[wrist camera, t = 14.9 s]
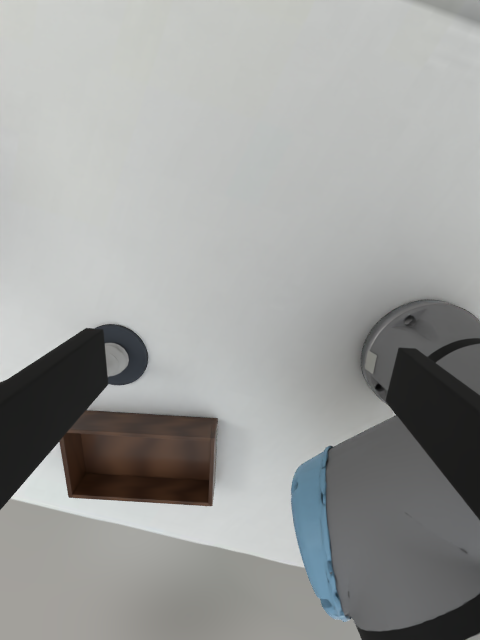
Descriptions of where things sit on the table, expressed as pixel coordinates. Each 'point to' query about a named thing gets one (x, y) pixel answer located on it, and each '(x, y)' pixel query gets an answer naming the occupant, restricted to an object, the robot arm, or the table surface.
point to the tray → (141, 458)
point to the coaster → (133, 349)
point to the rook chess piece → (115, 359)
